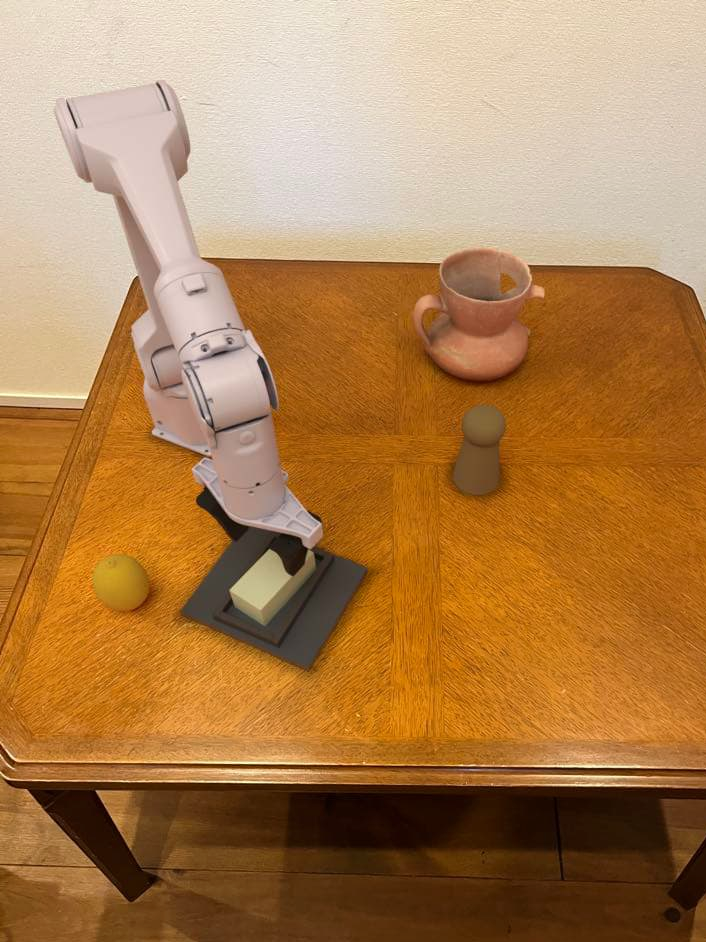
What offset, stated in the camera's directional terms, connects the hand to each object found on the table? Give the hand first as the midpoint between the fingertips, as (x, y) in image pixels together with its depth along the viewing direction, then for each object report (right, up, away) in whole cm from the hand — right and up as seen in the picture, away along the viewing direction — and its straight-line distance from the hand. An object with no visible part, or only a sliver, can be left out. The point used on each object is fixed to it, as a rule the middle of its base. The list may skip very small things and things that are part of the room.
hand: (267, 551), depth 77 cm
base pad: (0, -5, +6) cm, 8 cm away
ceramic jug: (+24, +28, +31) cm, 48 cm away
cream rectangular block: (0, -4, +6) cm, 7 cm away
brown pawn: (+23, +9, +17) cm, 31 cm away
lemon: (-16, -6, +6) cm, 18 cm away
